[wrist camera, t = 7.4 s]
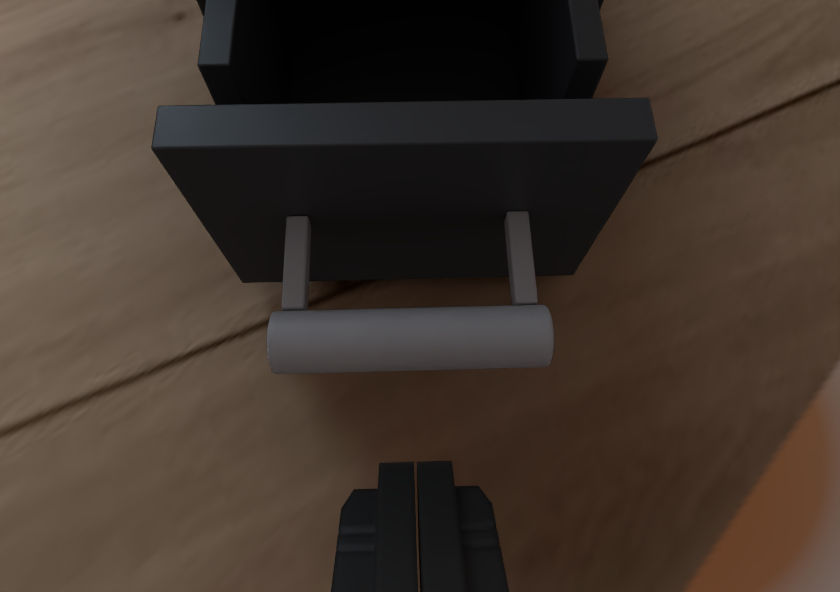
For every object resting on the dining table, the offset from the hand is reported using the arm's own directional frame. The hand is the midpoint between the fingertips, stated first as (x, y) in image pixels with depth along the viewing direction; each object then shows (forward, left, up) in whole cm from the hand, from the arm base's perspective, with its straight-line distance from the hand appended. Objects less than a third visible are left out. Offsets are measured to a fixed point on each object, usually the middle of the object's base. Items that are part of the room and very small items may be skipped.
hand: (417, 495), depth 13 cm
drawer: (+11, -5, -6) cm, 13 cm away
